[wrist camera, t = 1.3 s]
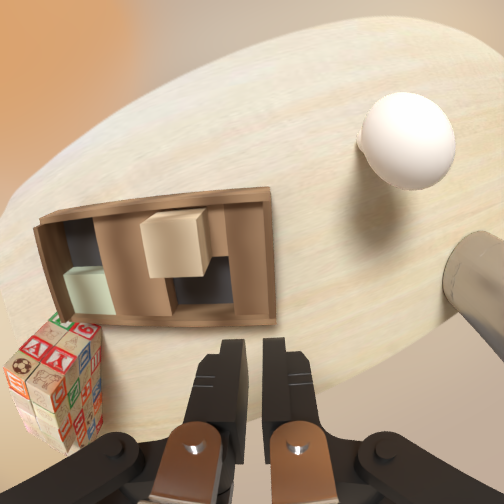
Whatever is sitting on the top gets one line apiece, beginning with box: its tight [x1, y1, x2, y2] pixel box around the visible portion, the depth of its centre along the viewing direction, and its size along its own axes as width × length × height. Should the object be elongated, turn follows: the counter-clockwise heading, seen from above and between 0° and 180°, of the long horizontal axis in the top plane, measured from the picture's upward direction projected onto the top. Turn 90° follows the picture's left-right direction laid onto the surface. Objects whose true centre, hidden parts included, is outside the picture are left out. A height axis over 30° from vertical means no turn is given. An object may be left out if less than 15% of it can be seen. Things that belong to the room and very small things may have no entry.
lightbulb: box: [357, 92, 456, 190], centre depth 18 cm, size 6×6×11 cm
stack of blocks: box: [3, 312, 103, 456], centre depth 28 cm, size 21×6×12 cm, turn 162°
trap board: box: [33, 187, 277, 327], centre depth 25 cm, size 21×11×4 cm, turn 94°
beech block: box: [140, 207, 212, 278], centre depth 22 cm, size 4×4×4 cm
